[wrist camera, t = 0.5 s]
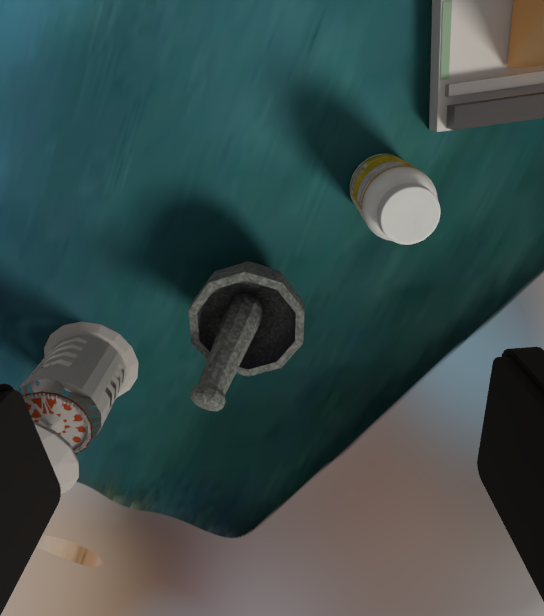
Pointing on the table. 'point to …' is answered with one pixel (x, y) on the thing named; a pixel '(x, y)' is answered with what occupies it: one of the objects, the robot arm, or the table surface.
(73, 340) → the french press
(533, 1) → the orange rectangular block
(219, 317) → the mortar and pestle
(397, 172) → the supplement bottle
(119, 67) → the table surface
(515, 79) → the breaker panel
